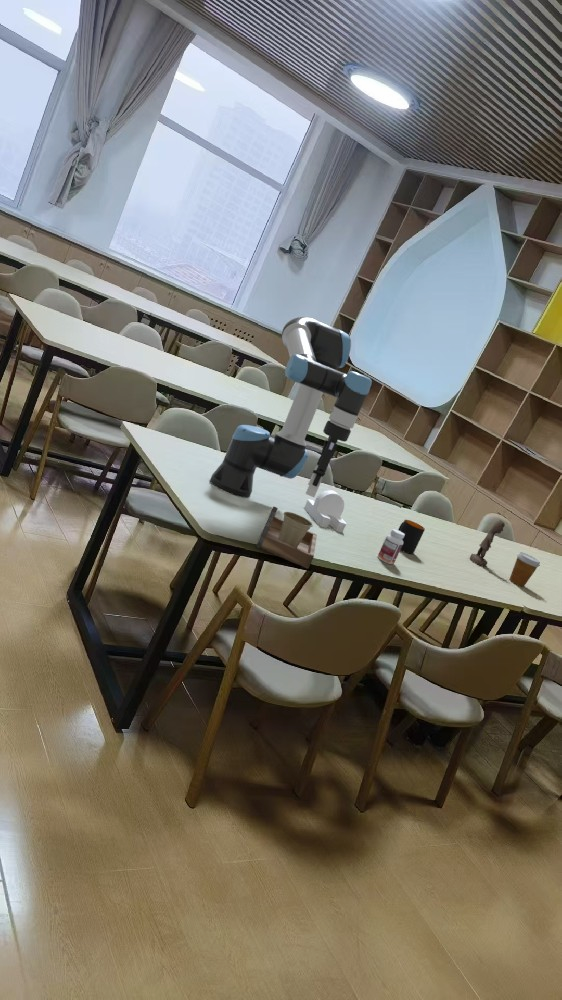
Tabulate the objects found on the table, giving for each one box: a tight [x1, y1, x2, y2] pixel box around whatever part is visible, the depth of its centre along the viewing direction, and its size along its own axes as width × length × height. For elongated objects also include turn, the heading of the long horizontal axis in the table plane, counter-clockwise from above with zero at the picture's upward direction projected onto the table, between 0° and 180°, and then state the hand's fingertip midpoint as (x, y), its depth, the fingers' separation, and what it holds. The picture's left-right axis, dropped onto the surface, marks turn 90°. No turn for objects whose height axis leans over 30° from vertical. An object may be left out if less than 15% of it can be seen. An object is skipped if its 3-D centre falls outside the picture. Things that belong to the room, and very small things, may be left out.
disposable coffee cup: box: [509, 552, 541, 588], centre depth 307 cm, size 10×10×12 cm
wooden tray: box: [255, 506, 318, 570], centre depth 227 cm, size 25×16×7 cm, turn 174°
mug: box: [397, 519, 426, 555], centre depth 286 cm, size 8×12×10 cm
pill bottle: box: [377, 528, 405, 565], centre depth 258 cm, size 6×6×11 cm
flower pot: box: [278, 511, 314, 548], centre depth 226 cm, size 9×9×9 cm
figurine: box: [469, 519, 506, 567], centre depth 314 cm, size 9×8×20 cm
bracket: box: [303, 489, 347, 534], centre depth 277 cm, size 19×10×11 cm, turn 16°
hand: (311, 490), depth 223 cm, fingers open, 13 cm apart
